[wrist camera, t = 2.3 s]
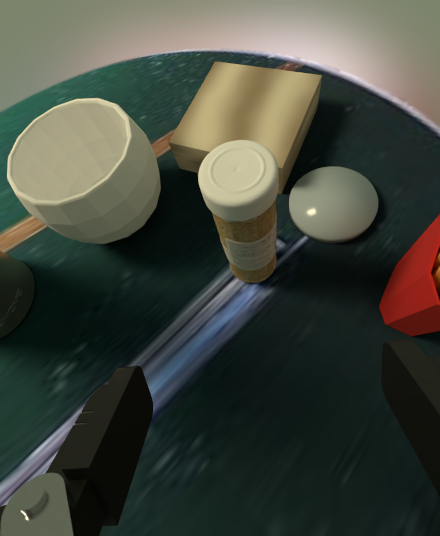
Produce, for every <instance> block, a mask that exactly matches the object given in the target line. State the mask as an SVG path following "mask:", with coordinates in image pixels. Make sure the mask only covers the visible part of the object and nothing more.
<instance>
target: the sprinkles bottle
mask: <svg viewBox="0 0 440 536" xmlns="http://www.w3.org/2000/svg"><path fill="white" fill-rule="evenodd" d="M198 182H199V187H200V190H201V193H202V196H203V198H204V201H205V203H206V205H207V207H208V208H209V209H210V210H211V211H212V214H213V217H214V220H215V223H216V226H217V229H218V232H219V235H220V239H221V243H222V245H223V248H224V251H225V254H226V256H227V258H228V260H229V265H230V269H231V271H232V272H233V274H234V275H235V276H236V277H237V278H238V279H240V280H242V281H244V282H247V283H257V282H261V281H263V280H266V279H267V278H268V277H269V276H270V275H271V274H272V273H273V271H274V270H275V267H276V262H277V257H276V253H275V251H276V218H277V217H276V209H275V208H276V205H275V202H276V197H277V194H278V189H279V174H278V164H277V161H276V159H275V157H274V155H273V154H272V152H271V151H270V150H269V149H268V148H266V147H265V146H263V145H262V144H260V143H257V142H254V141H250V140H235V141H230V142H226V143H224V144H222V145H220V146H218V147H216V148H215V149H213V150H212V151H211V152H210V153H209V154H208V155H207V156H206V157H205V159H204V160H203V162H202V164H201V166H200V169H199V173H198Z"/></svg>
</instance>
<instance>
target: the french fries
mask: <svg viewBox="0 0 440 536" xmlns="http://www.w3.org/2000/svg"><path fill="white" fill-rule="evenodd" d="M379 308H380V311H381V314H382V316H383V319H384V322H385V324H386V325H388V326H390V327H392V328H394V329H396V330H399V331H401V332H403V333H405V334H407V335H409V336H416V335H421V334H426V333H430V332H435V331H440V215H439V216H438V217H437V218H436V219H435V221H434V222H433V223H432V224H431V225H430V226H429V227H428V229H427V230H426V231H425V232H424V233H423V234H422V236H421V237H420V238H419V239H418V240H417V241H416V242H415V244H414V245H413V246H412V247H411V248H410V249H409V250H408V252H407V253H406V254H405V255H404V256H403V257H402V259H401V260H400V261H399V262H398V263H397V265H396V267H395V269H394V271H393V273H392V275H391V277H390V280H389V282H388V284H387V286H386V289H385V291H384V294H383V297H382V299H381V302H380V305H379Z"/></svg>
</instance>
